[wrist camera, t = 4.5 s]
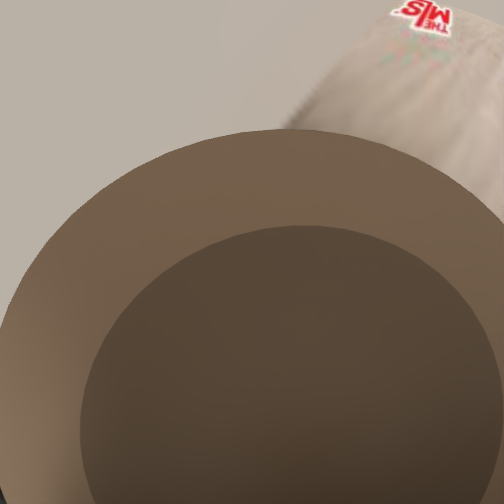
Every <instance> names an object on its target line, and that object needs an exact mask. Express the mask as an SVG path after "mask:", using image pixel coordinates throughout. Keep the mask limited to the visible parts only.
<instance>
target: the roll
mask: <svg viewBox="0 0 504 504" xmlns="http://www.w3.org/2000/svg"><path fill="white" fill-rule="evenodd" d="M0 487H1V490H2V493H3V495H4V498H5V500H6V503H7V504H504V224H503V223H502V222H501V221H500V220H499V218H498V217H497V216H496V215H495V214H494V213H493V212H491V211H490V210H489V209H488V208H487V207H486V206H485V205H484V204H483V203H482V202H481V201H480V200H479V199H478V198H477V197H475V196H474V195H473V194H472V193H471V192H469V191H468V190H467V189H465V188H464V187H462V186H461V185H460V184H458V183H457V182H456V181H454V180H453V179H451V178H450V177H449V176H447V175H446V174H444V173H442V172H440V171H439V170H437V169H435V168H433V167H432V166H430V165H428V164H426V163H424V162H422V161H421V160H419V159H417V158H415V157H412V156H410V155H408V154H405V153H403V152H400V151H398V150H395V149H393V148H390V147H388V146H385V145H382V144H379V143H375V142H372V141H368V140H364V139H360V138H357V137H353V136H348V135H342V134H336V133H329V132H322V131H315V130H285V129H276V130H264V131H253V132H242V133H237V134H232V135H227V136H222V137H217V138H213V139H208V140H204V141H201V142H198V143H195V144H192V145H189V146H186V147H183V148H180V149H177V150H174V151H171V152H169V153H166V154H164V155H162V156H160V157H158V158H155V159H153V160H151V161H149V162H147V163H145V164H143V165H141V166H139V167H137V168H135V169H133V170H132V171H130V172H128V173H127V174H125V175H124V176H122V177H120V178H119V179H117V180H116V181H114V182H113V183H111V184H110V185H108V186H107V187H105V188H104V189H102V190H101V191H100V192H98V193H97V194H96V195H95V196H93V197H92V198H91V199H90V200H89V201H87V202H86V203H85V204H84V205H83V206H82V207H80V208H79V209H78V210H77V211H76V212H75V213H73V214H72V215H71V216H70V217H69V219H68V220H67V221H66V222H65V223H64V224H63V225H62V226H61V227H60V228H59V229H58V230H57V231H56V233H55V234H54V235H53V236H52V237H51V238H50V239H49V240H48V242H47V243H46V244H45V245H44V247H43V248H42V250H41V251H40V252H39V254H38V255H37V257H36V258H35V260H34V261H33V263H32V264H31V265H30V267H29V268H28V270H27V272H26V273H25V275H24V277H23V278H22V280H21V282H20V284H19V286H18V288H17V290H16V292H15V294H14V296H13V298H12V300H11V302H10V304H9V306H8V309H7V311H6V314H5V317H4V320H3V323H2V325H1V328H0Z"/></svg>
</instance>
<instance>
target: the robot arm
mask: <svg viewBox="0 0 504 504" xmlns="http://www.w3.org/2000/svg"><path fill="white" fill-rule="evenodd" d="M0 504H7V503H6V500H5V498H4V495H3V493H2V490H1V487H0Z"/></svg>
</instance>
